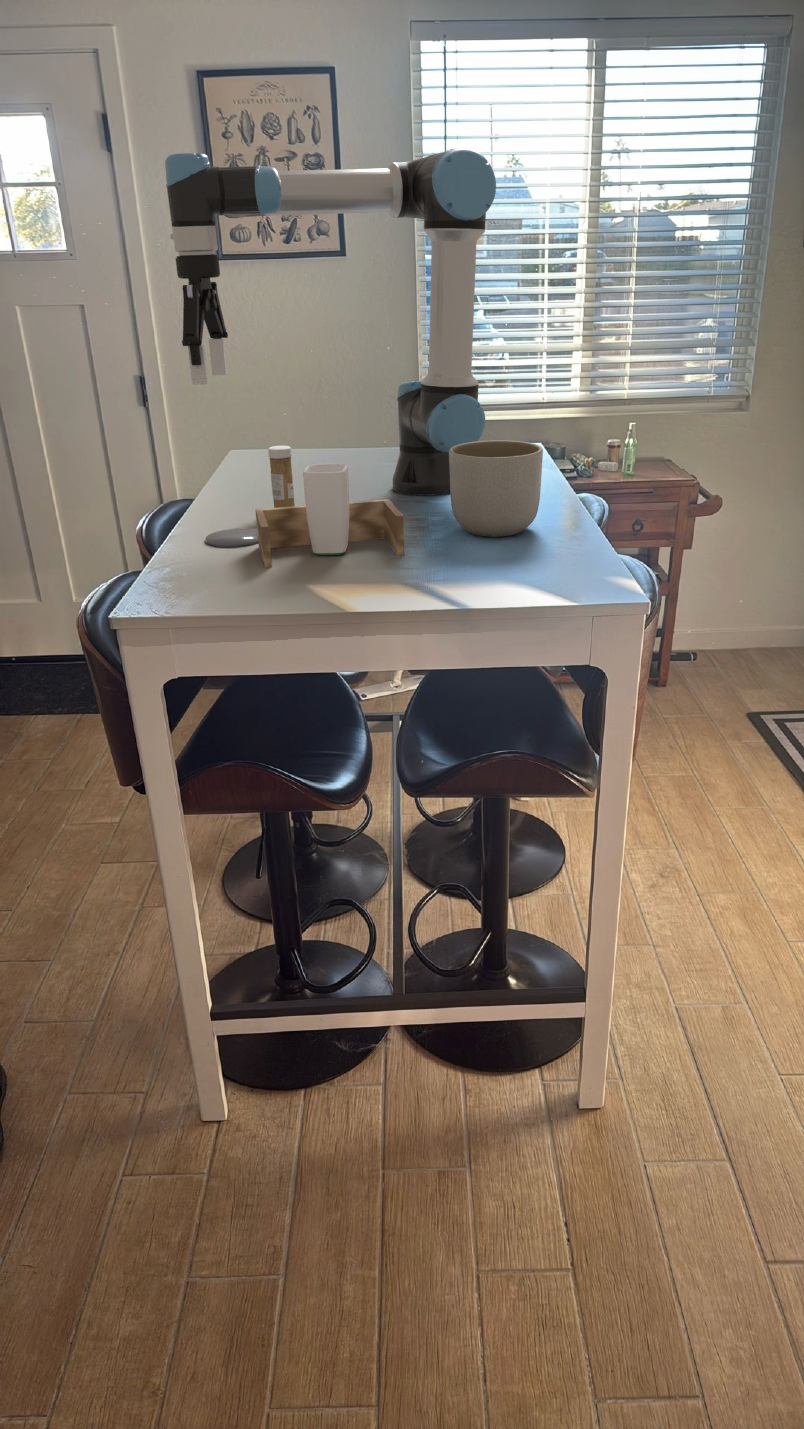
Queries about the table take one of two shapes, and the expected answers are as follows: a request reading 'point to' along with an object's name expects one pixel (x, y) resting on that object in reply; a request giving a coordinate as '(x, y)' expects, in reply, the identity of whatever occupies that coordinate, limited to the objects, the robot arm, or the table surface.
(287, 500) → the sprinkles bottle
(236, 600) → the table surface
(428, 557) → the table surface
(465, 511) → the planter
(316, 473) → the cup
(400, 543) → the wooden stand
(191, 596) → the table surface
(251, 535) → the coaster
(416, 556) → the table surface
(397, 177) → the robot arm
